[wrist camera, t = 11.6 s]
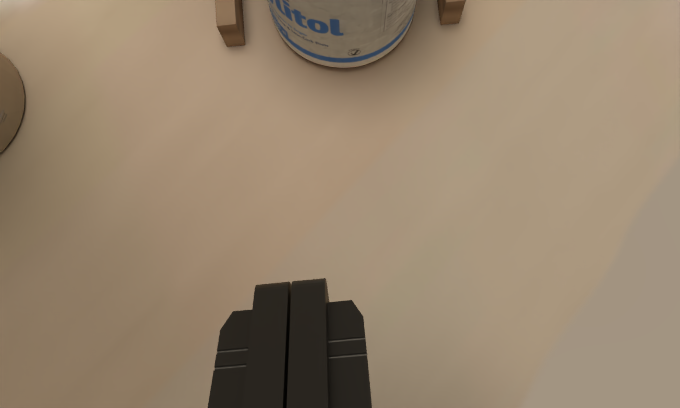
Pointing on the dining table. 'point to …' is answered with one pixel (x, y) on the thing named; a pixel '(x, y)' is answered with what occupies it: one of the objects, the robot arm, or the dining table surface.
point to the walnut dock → (233, 27)
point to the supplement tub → (342, 28)
